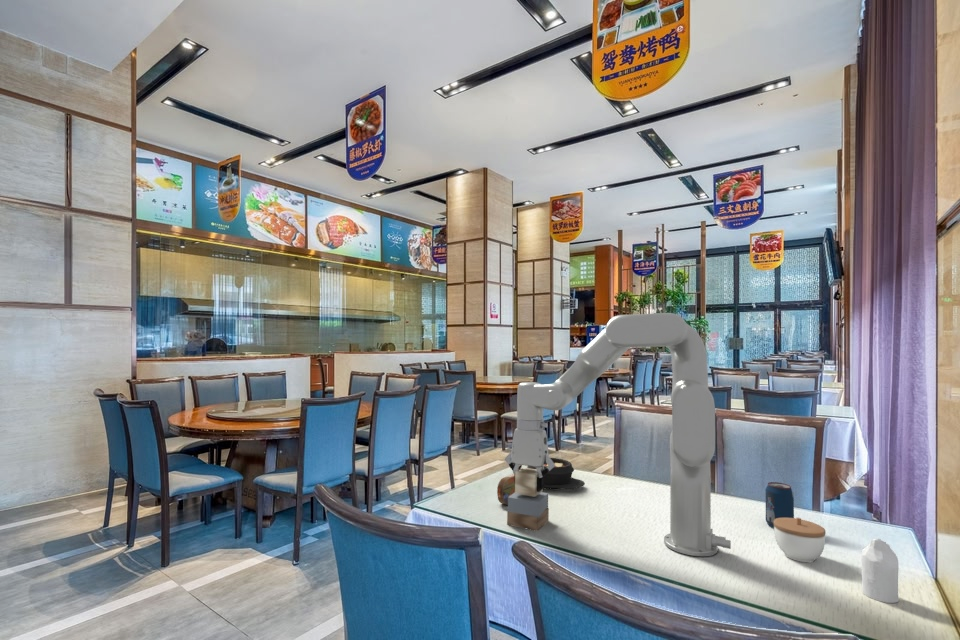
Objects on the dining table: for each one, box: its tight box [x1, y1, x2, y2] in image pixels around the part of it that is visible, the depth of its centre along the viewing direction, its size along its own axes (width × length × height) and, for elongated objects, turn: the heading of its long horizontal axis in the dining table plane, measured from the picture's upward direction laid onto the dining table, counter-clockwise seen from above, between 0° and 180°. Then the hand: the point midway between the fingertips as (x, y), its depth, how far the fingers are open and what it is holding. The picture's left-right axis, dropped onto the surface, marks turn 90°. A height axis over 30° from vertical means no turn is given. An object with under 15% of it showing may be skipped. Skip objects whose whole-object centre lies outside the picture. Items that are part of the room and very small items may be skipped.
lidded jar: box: [773, 517, 826, 563], centre depth 119 cm, size 11×11×9 cm
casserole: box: [526, 457, 585, 490], centre depth 176 cm, size 25×19×8 cm
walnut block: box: [506, 507, 550, 532], centre depth 138 cm, size 9×9×4 cm
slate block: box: [507, 491, 549, 517], centre depth 138 cm, size 9×9×4 cm
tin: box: [496, 473, 515, 506], centre depth 157 cm, size 15×3×8 cm, turn 143°
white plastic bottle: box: [861, 538, 899, 604], centre depth 100 cm, size 6×12×6 cm
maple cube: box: [515, 467, 544, 497], centre depth 138 cm, size 6×6×6 cm
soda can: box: [765, 481, 795, 530], centre depth 139 cm, size 7×7×12 cm
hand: (528, 488), depth 138 cm, fingers closed on maple cube, 5 cm apart
